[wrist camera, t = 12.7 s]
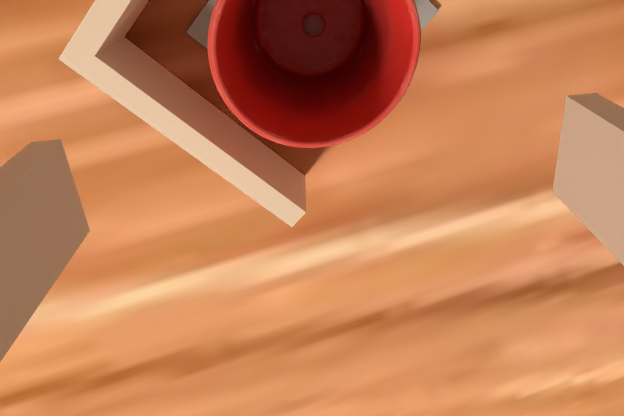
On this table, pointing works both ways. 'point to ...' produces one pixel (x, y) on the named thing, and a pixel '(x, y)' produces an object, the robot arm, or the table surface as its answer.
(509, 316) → the table surface
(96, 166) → the table surface
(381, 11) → the flower pot
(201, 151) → the corner wall
